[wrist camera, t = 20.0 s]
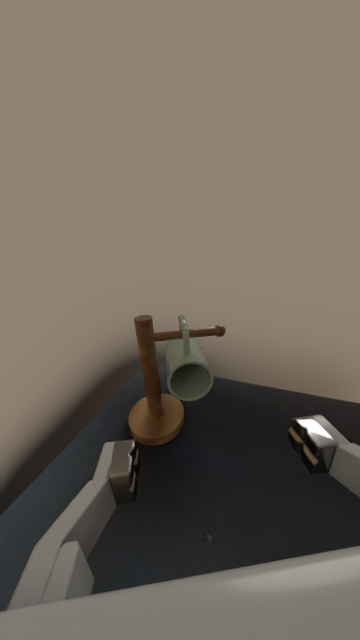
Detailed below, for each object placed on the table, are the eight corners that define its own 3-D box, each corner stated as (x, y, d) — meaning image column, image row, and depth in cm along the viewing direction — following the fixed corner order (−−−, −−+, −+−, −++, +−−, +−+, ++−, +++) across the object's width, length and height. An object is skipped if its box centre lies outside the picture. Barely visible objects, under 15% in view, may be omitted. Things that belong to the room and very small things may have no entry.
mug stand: (125, 450, 26) (97, 334, 20) (134, 402, 35) (116, 311, 29) (233, 435, 27) (238, 320, 21) (216, 392, 36) (216, 302, 30)
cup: (198, 359, 36) (213, 398, 26) (167, 362, 36) (169, 403, 25) (196, 309, 33) (212, 330, 23) (162, 312, 33) (162, 335, 22)
